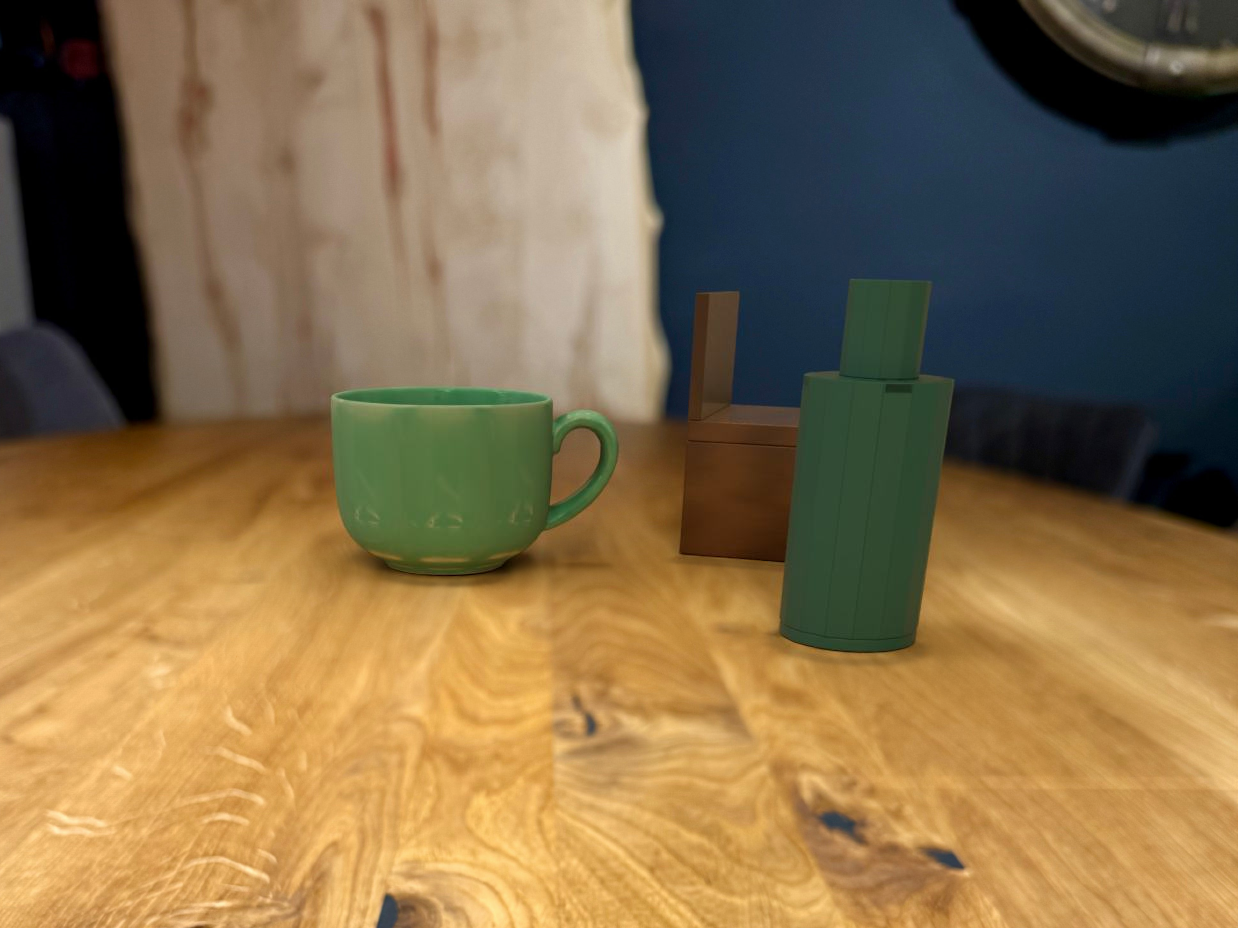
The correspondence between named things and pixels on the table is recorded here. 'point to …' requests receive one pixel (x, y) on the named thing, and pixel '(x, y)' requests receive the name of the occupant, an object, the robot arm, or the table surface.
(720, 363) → the wooden toy chair
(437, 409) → the mug
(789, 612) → the bottle
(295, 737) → the table surface
